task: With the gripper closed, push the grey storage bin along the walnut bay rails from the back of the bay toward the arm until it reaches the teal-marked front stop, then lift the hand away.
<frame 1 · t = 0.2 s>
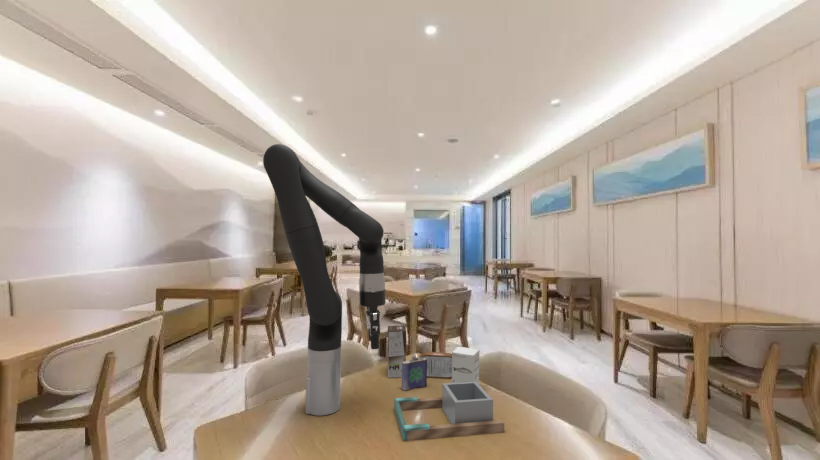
hand: (373, 344, 103), 17 cm above the table, tool pointing down, fingers open, 8 cm apart
flask: (414, 388, 115), on the table
bay: (446, 420, 94), on the table
coffee box: (396, 373, 128), on the table
grey storage bin: (466, 404, 95), point 4 cm above the table, slide at 0.0 cm
tin: (437, 377, 124), on the table
supplement box: (465, 390, 113), on the table
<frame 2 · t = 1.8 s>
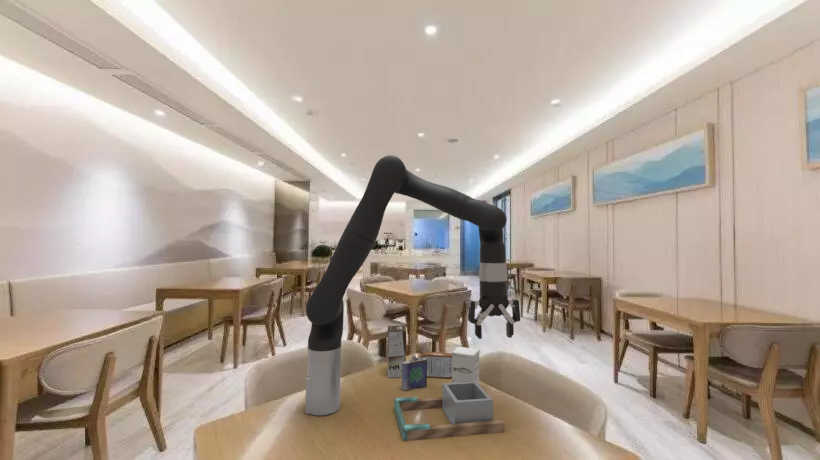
hand: (494, 337, 98), 21 cm above the table, tool pointing down, fingers open, 8 cm apart
nothing on the table moved.
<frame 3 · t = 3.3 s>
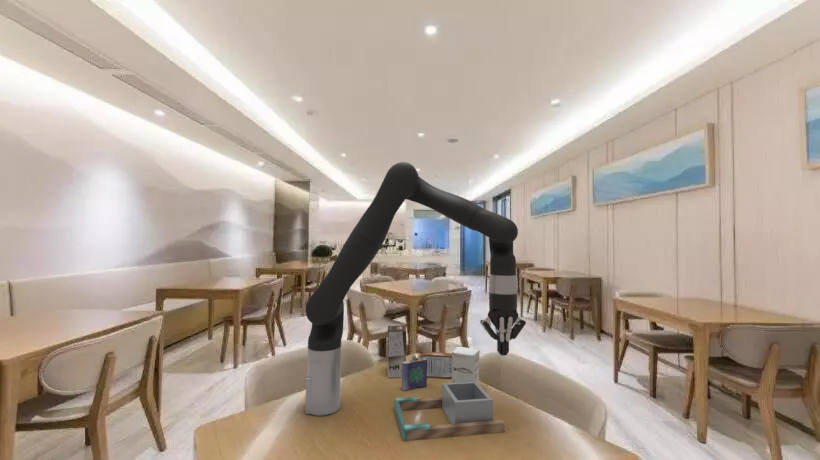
hand: (503, 354, 97), 17 cm above the table, tool pointing down, fingers closed
nothing on the table moved.
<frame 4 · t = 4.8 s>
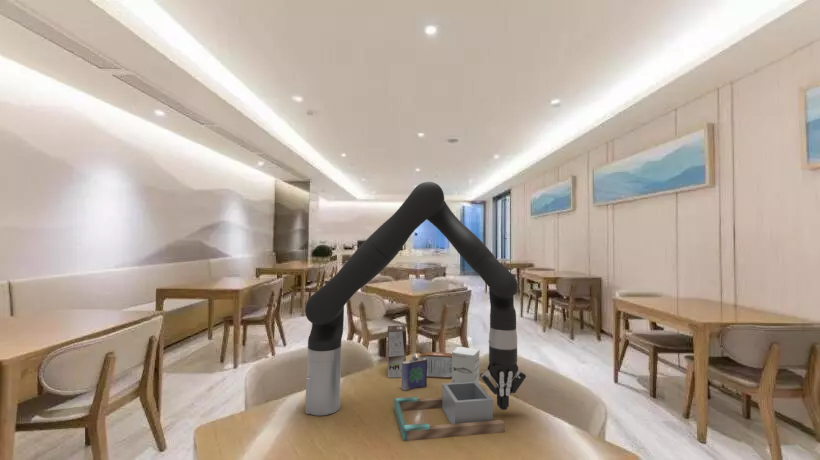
hand: (502, 408, 97), 2 cm above the table, tool pointing down, fingers closed
nothing on the table moved.
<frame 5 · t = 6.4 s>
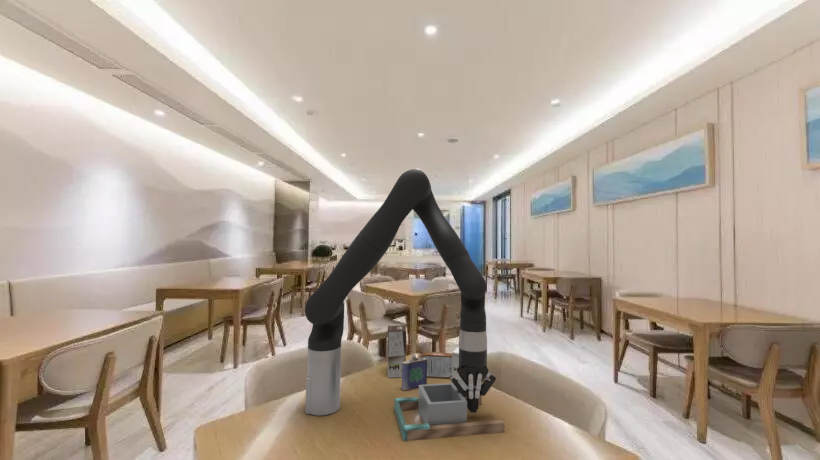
hand: (472, 411, 95), 2 cm above the table, tool pointing down, fingers closed
grey storage bin: (441, 406, 94), point 4 cm above the table, slide at 6.9 cm, touching hand
everything else where it was.
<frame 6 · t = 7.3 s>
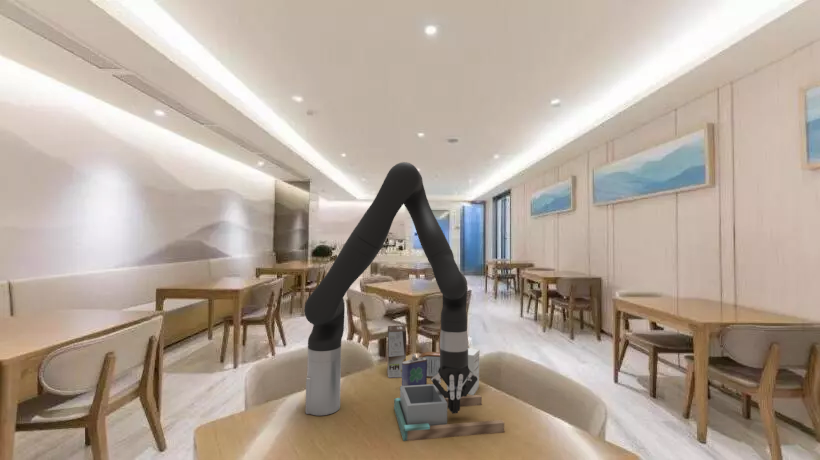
hand: (454, 412, 94), 2 cm above the table, tool pointing down, fingers closed
grey storage bin: (422, 407, 93), point 4 cm above the table, slide at 12.0 cm, touching hand
everything else where it was.
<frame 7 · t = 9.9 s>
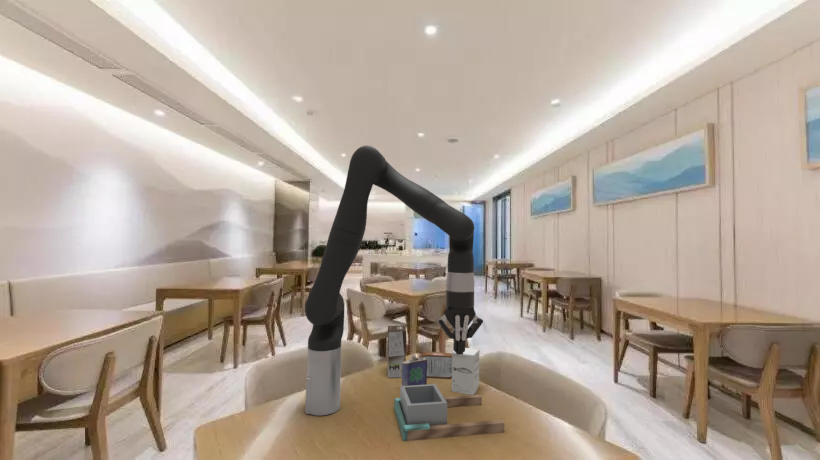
hand: (459, 353, 95), 17 cm above the table, tool pointing down, fingers closed
grey storage bin: (422, 407, 93), point 4 cm above the table, slide at 12.0 cm
everything else where it was.
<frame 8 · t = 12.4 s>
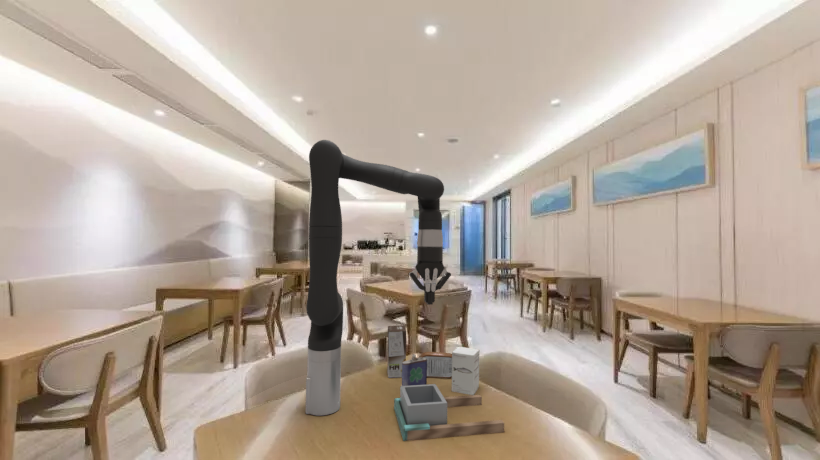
hand: (429, 304, 104), 29 cm above the table, tool pointing down, fingers closed
nothing on the table moved.
at the end: grey storage bin slide at 12.0 cm; the gripper is holding nothing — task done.
